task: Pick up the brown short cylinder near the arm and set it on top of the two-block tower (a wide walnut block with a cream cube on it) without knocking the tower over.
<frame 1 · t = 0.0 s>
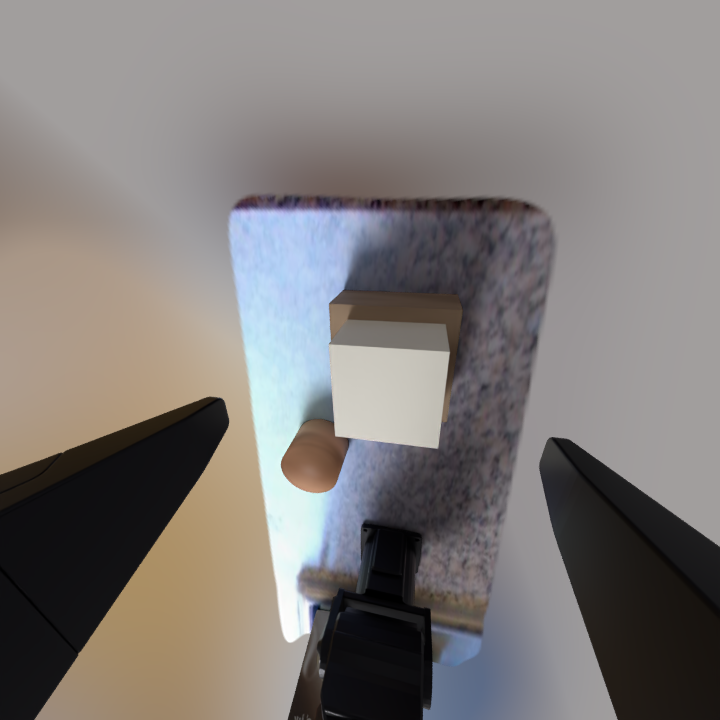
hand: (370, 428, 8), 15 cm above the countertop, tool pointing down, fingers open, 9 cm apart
brown short cylinder: (323, 439, 29), on the countertop
tower base: (396, 342, 23), on the countertop
coffee box: (351, 622, 44), on the countertop
tower top block: (393, 365, 20), point 4 cm above the countertop
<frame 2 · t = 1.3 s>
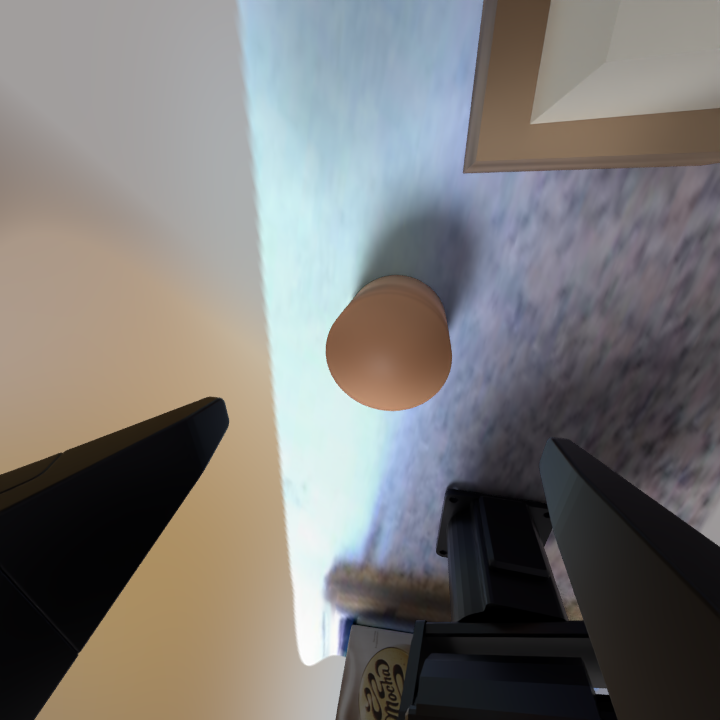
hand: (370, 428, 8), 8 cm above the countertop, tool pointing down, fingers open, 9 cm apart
brown short cylinder: (395, 324, 15), on the countertop
tower base: (607, 25, 10), on the countertop, touching tower top block
coffee box: (400, 643, 31), on the countertop
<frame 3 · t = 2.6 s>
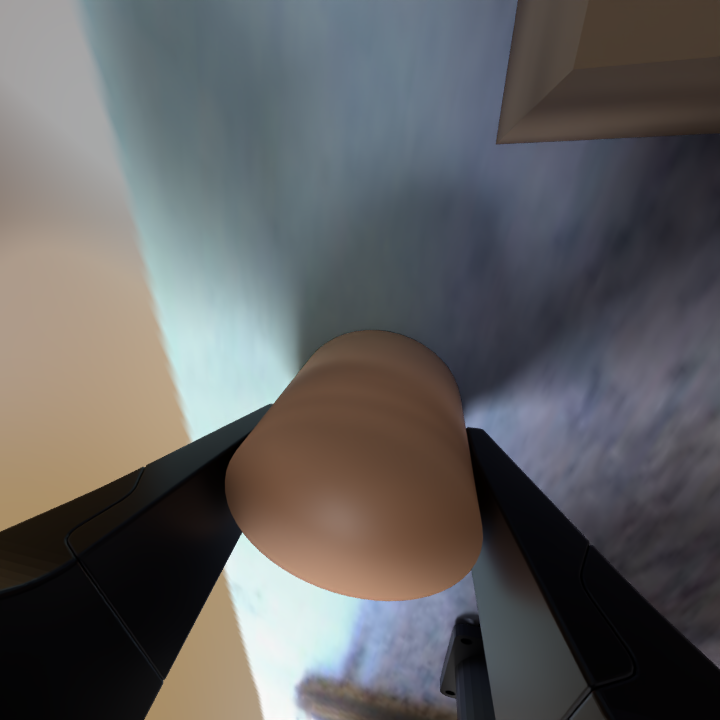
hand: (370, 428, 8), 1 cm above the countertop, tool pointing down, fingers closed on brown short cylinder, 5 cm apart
brown short cylinder: (376, 406, 9), on the countertop, touching gripper
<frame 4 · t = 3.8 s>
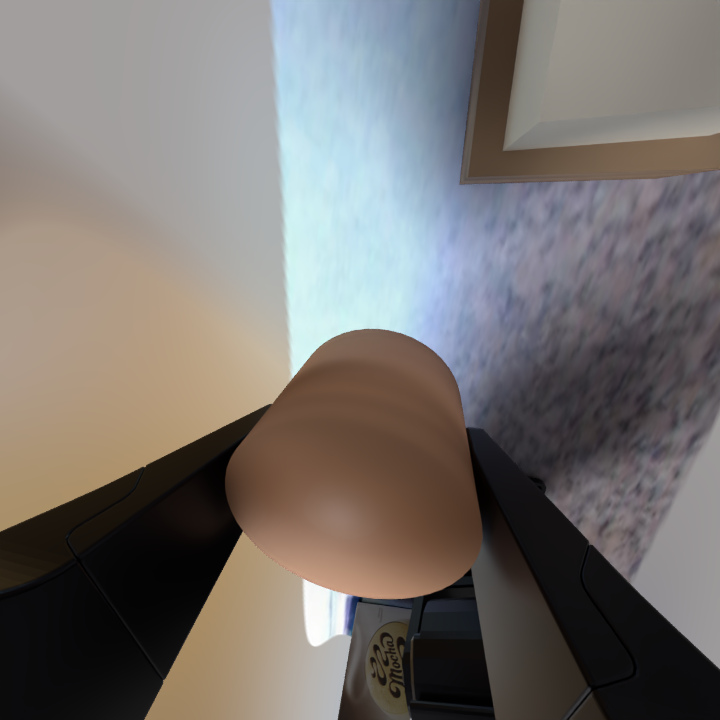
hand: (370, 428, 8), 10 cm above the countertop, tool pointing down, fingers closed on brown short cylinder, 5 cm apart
brown short cylinder: (376, 405, 9), point 9 cm above the countertop, touching gripper
tower base: (575, 67, 12), on the countertop, touching tower top block
coffee box: (402, 620, 33), on the countertop
tower top block: (631, 17, 9), point 4 cm above the countertop, touching tower base
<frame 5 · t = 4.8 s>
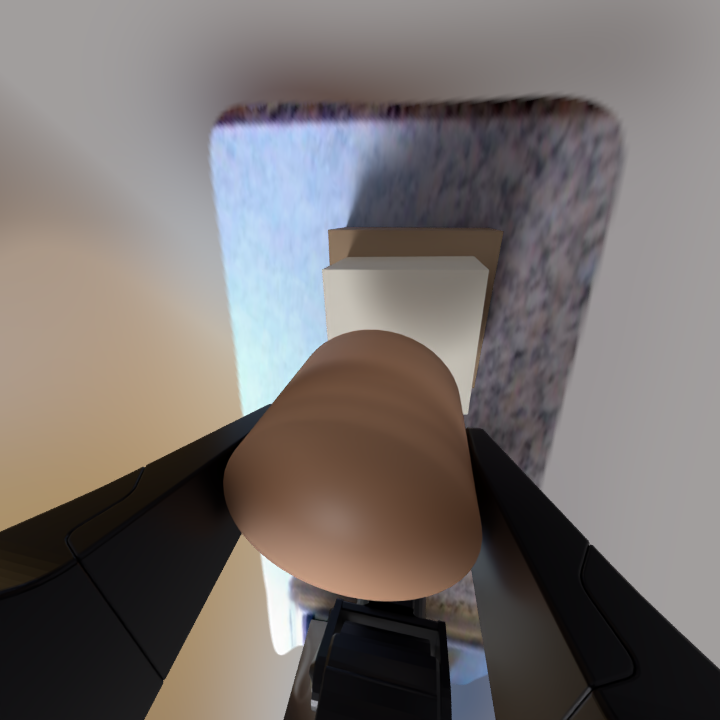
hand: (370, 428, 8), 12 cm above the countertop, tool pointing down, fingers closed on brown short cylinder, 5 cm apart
brown short cylinder: (375, 405, 9), point 11 cm above the countertop, touching gripper
tower base: (409, 295, 19), on the countertop, touching tower top block
coffee box: (348, 634, 39), on the countertop
tower top block: (405, 316, 16), point 4 cm above the countertop, touching tower base
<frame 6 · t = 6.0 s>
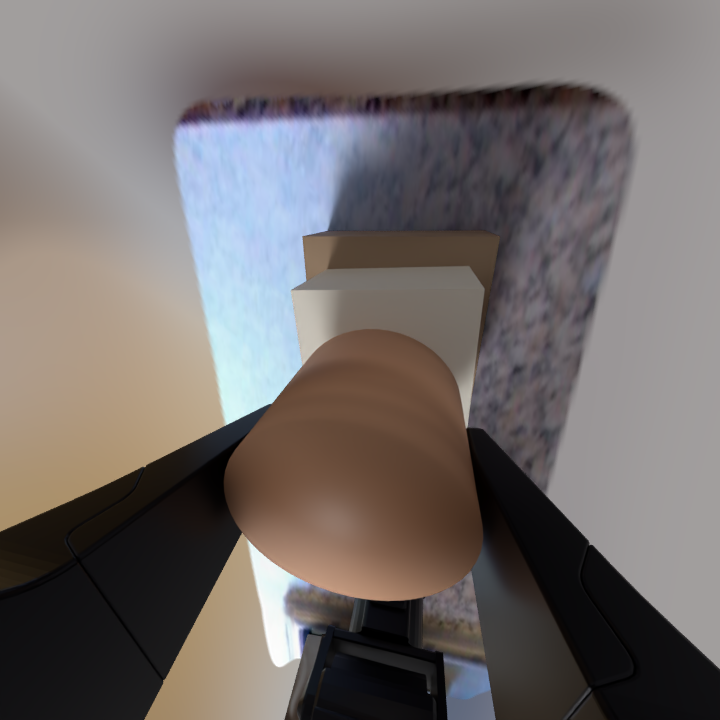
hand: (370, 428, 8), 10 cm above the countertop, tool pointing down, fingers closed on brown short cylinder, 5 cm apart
brown short cylinder: (375, 405, 9), point 9 cm above the countertop, touching gripper
tower base: (399, 305, 18), on the countertop, touching tower top block
coffee box: (346, 649, 38), on the countertop
tower top block: (394, 333, 14), point 4 cm above the countertop, touching tower base
when the fingers open (10 cm above the countertop, at t = 6.0 s): brown short cylinder drops 2 cm, resting on tower top block.
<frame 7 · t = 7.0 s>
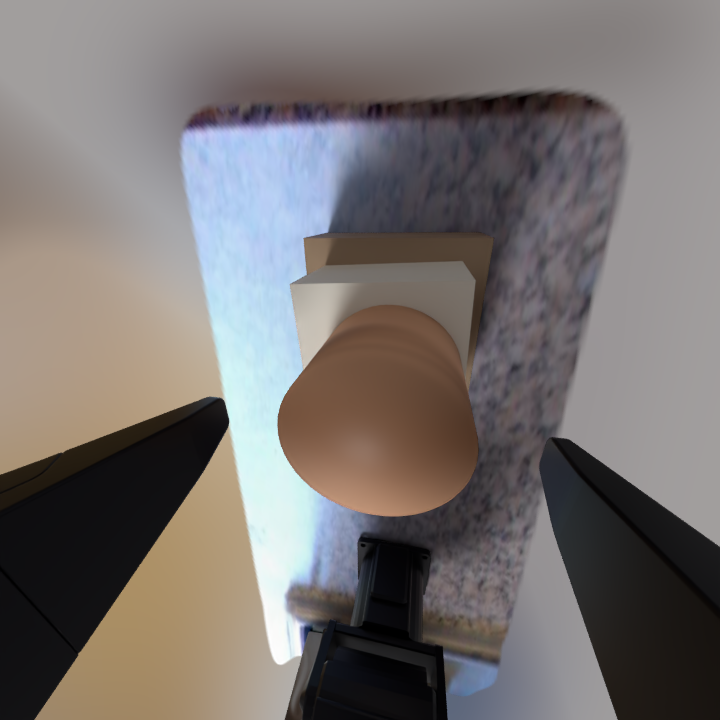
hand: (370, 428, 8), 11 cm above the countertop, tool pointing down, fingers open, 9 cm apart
brown short cylinder: (389, 371, 11), point 8 cm above the countertop, touching tower top block
tower base: (397, 304, 18), on the countertop, touching tower top block
coffee box: (347, 646, 39), on the countertop
tower top block: (391, 328, 14), point 4 cm above the countertop, touching brown short cylinder, tower base
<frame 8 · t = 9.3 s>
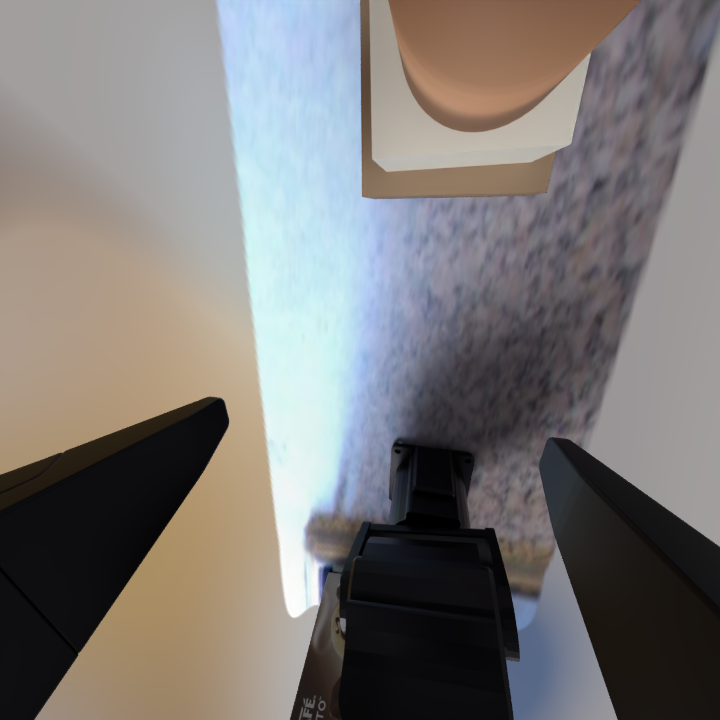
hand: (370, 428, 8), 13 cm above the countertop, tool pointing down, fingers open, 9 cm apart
brown short cylinder: (491, 18, 8), point 8 cm above the countertop, touching tower top block
tower base: (454, 108, 15), on the countertop
coffee box: (369, 589, 36), on the countertop
tower top block: (463, 76, 12), point 4 cm above the countertop, touching brown short cylinder
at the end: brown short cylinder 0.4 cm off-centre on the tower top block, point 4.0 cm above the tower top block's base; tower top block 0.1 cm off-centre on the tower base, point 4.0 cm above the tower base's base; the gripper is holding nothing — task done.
